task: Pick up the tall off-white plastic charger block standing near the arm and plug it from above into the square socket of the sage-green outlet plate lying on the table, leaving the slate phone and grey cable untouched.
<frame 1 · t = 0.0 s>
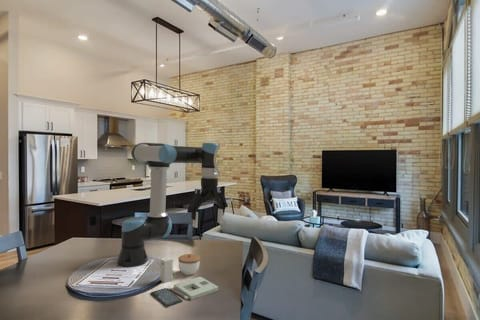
hand: (207, 225, 131), 28 cm above the table, fingers open, 13 cm apart
charger: (166, 280, 137), on the table
lidded jar: (188, 273, 146), on the table
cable: (177, 293, 124), on the table
phone: (166, 299, 121), on the table
outlet plate: (196, 289, 129), on the table
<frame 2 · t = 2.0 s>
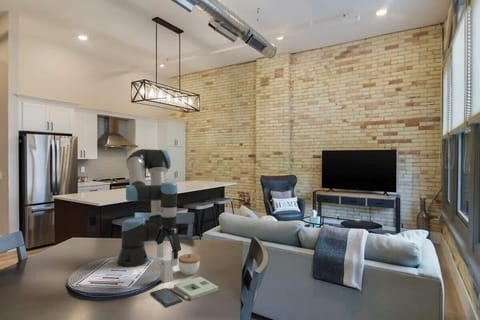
hand: (166, 261, 136), 9 cm above the table, fingers open, 13 cm apart
nothing on the table moved.
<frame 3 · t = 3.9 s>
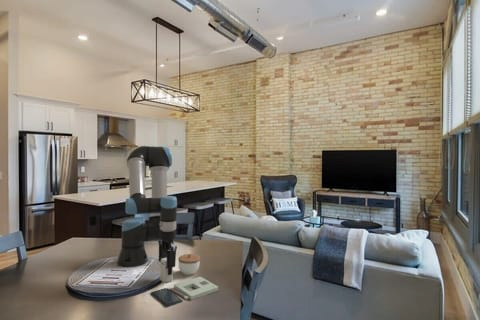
hand: (166, 279, 137), 0 cm above the table, fingers closed on charger, 4 cm apart
charger: (166, 280, 137), on the table, touching gripper
everything else where it was.
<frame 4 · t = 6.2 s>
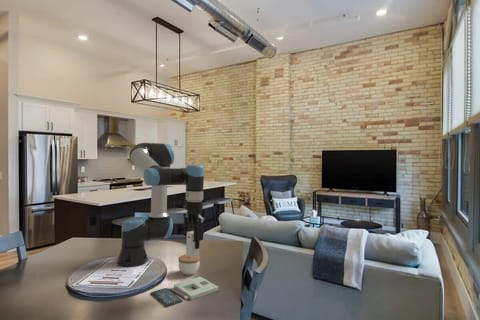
hand: (192, 254, 127), 16 cm above the table, fingers closed on charger, 4 cm apart
charger: (192, 255, 127), point 16 cm above the table, touching gripper
everything else where it was.
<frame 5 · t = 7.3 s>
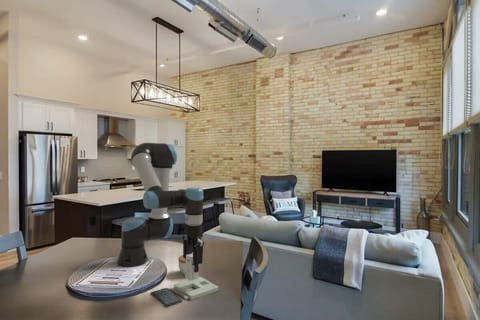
hand: (191, 277, 127), 6 cm above the table, fingers closed on charger, 4 cm apart
charger: (191, 278, 127), point 5 cm above the table, touching gripper
everything else where it was.
when the fingers open (3 cm above the table, at t = 8.4 s): charger drops 3 cm, resting in outlet plate.
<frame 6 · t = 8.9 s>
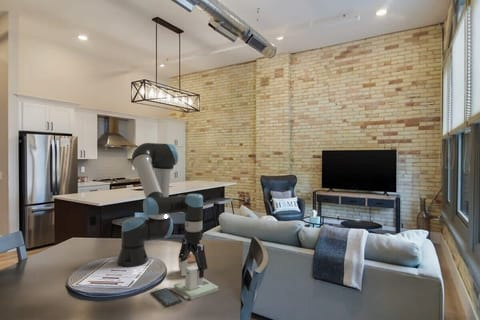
hand: (191, 279, 127), 5 cm above the table, fingers open, 11 cm apart
charger: (191, 290, 127), resting in outlet plate
everything else where it was.
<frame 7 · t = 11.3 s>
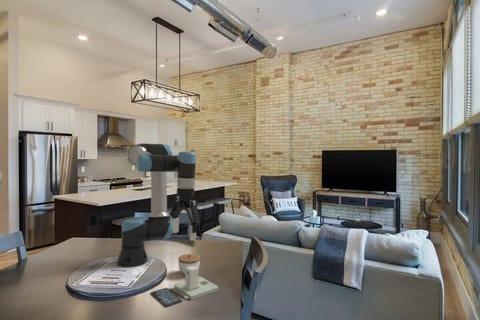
hand: (183, 236, 127), 24 cm above the table, fingers open, 13 cm apart
nothing on the table moved.
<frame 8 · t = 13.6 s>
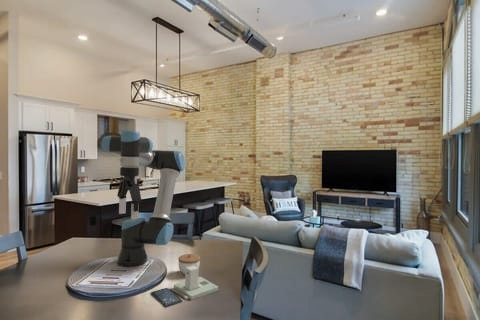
hand: (128, 216, 126), 32 cm above the table, fingers open, 13 cm apart
nothing on the table moved.
at the end: charger 0.1 cm from the target spot on the outlet plate, point 0.0 cm above the outlet plate's base; charger tilted 0°; the gripper is holding nothing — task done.
